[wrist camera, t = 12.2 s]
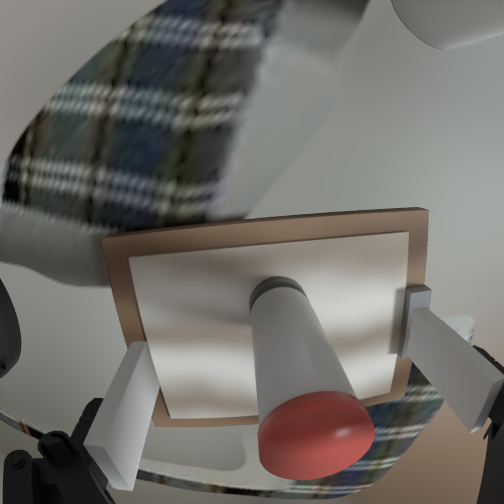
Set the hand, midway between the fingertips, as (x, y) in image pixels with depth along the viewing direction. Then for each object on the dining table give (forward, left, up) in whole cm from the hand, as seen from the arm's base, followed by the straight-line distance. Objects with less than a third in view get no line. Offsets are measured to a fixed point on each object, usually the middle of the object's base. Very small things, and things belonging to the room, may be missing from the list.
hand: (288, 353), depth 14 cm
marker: (+1, 0, -8) cm, 8 cm away
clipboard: (+4, 0, -10) cm, 10 cm away
